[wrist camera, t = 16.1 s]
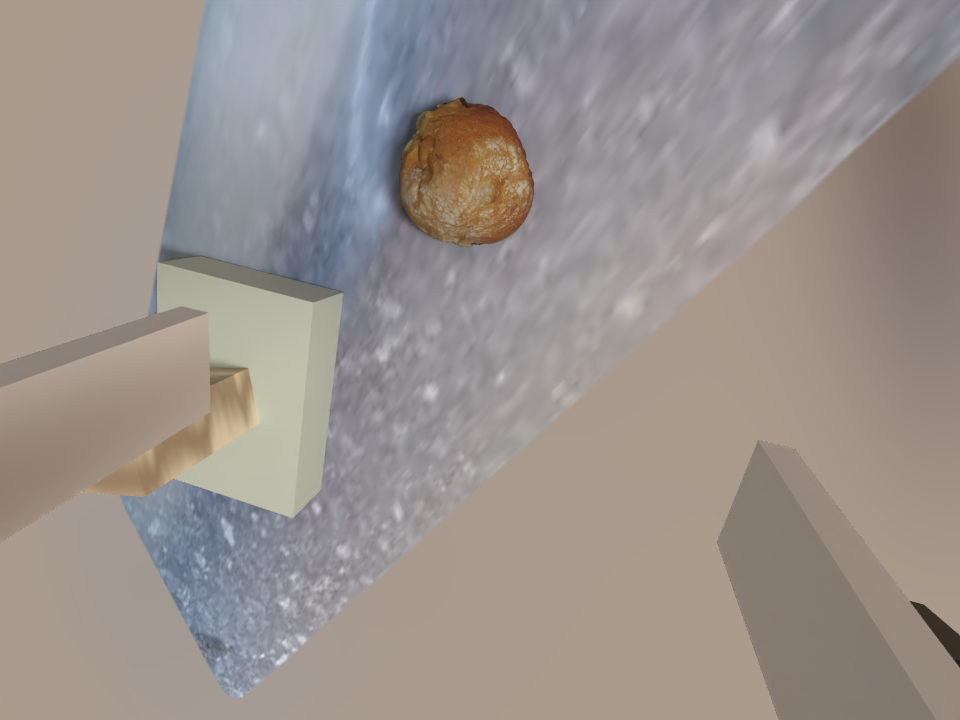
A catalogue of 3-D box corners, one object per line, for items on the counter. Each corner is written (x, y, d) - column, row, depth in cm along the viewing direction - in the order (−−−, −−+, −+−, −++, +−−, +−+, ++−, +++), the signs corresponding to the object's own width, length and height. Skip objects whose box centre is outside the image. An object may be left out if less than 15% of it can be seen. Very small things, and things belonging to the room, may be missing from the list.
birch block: (197, 367, 45) (62, 422, 34) (248, 368, 44) (125, 424, 33) (209, 422, 47) (82, 492, 35) (258, 424, 45) (144, 496, 34)
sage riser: (201, 256, 48) (157, 262, 43) (343, 292, 46) (313, 302, 41) (196, 449, 54) (157, 473, 50) (320, 489, 52) (292, 518, 47)
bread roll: (431, 227, 46) (408, 278, 40) (392, 104, 40) (359, 142, 34) (544, 211, 44) (538, 262, 38) (522, 76, 37) (511, 112, 31)
